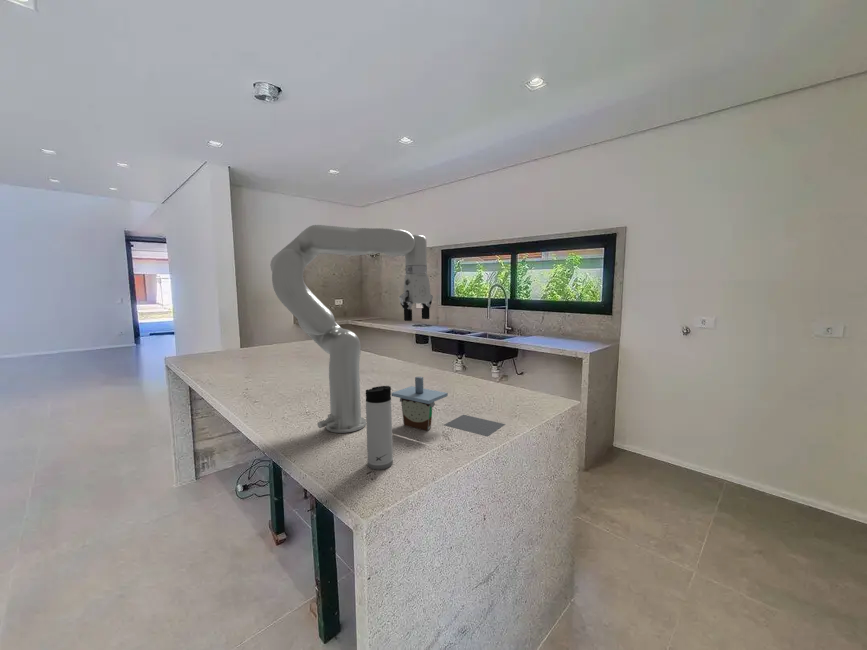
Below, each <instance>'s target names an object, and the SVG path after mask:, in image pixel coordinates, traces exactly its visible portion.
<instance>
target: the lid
mask: <svg viewBox="0 0 867 650" xmlns="http://www.w3.org/2000/svg"><path fill="white" fill-rule="evenodd" d="M414 383H415V385H414V386H412V385H411V386H408V387H404V388H402V389H399V390H396V391H393V392H391V397H395V398H399V399H400V398H403V399H408V400H412V401H417V402H422V403H426V404H430V403H432V402H434V403H435V402H437V401H439V400H441V399H442V400H443V399H444V398H447V397H448V395H449V394H448V392H446V391H445V392H443V391H440V390H433V389H429V388H424V377H423V376H416V377H415V378H414Z"/></svg>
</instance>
